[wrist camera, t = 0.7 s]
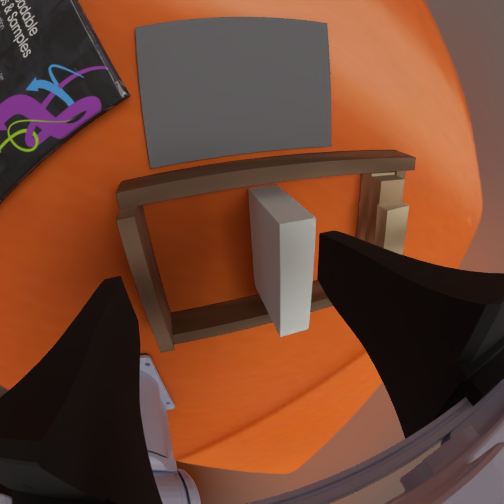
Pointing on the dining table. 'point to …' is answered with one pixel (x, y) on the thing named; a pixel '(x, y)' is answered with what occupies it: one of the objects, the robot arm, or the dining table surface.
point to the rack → (211, 180)
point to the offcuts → (382, 211)
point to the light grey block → (282, 256)
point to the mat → (233, 87)
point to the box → (48, 82)
